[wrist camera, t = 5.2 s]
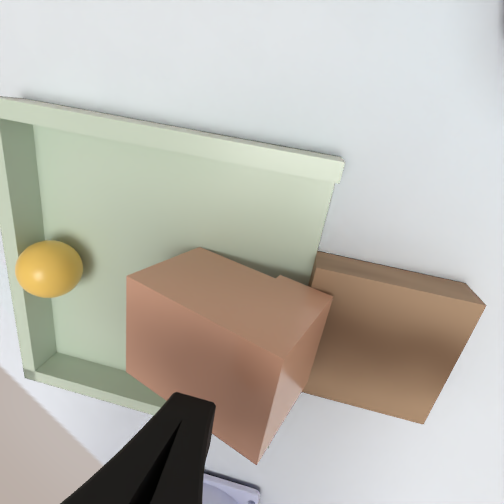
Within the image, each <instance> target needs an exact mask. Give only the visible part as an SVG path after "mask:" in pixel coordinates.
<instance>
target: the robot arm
mask: <svg viewBox="0 0 504 504" xmlns="http://www.w3.org/2000/svg"><path fill="white" fill-rule="evenodd" d="M215 410H216V405H215V404H214V402H211V401H207V400H204V399H200V398H197V397H193V396H190V395H186V394H182V393H179V392H175V393H173V394H172V395H171V396H170V398H169V399H168V400H167V401H166V402H165V404H164V405H163V406H162V407H161V408H160V409H159V410H158V412H157V413H156V414H155V415H154V416H153V417H152V418H151V419H150V420H149V421H148V423H147V424H146V425H145V426H144V427H143V428H142V429H141V430H140V431H139V432H138V433H137V434H136V435H135V436H134V437H133V438H132V439H131V440H130V441H129V442H128V443H127V444H126V445H125V446H124V447H123V448H122V449H121V450H120V451H119V452H118V453H117V454H116V455H115V456H114V457H113V458H112V459H111V460H109V461H108V462H107V463H106V464H105V465H104V466H103V467H102V468H101V469H100V470H99V471H98V472H96V473H95V474H94V475H93V476H92V477H91V478H90V479H89V480H88V481H86V482H85V483H84V484H83V485H82V486H81V487H80V488H78V489H77V490H76V491H75V492H74V493H73V494H71V496H69V497H68V498H67V499H65V500H64V501H63V502H62V503H60V504H259V500H260V492H259V491H258V490H256V489H254V488H250V487H247V486H244V485H241V484H237V483H234V482H231V481H228V480H224V479H221V478H218V477H214V476H211V475H208V474H205V473H204V466H205V461H206V457H207V453H208V450H209V446H210V441H211V435H212V428H213V422H214V416H215Z"/></svg>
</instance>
